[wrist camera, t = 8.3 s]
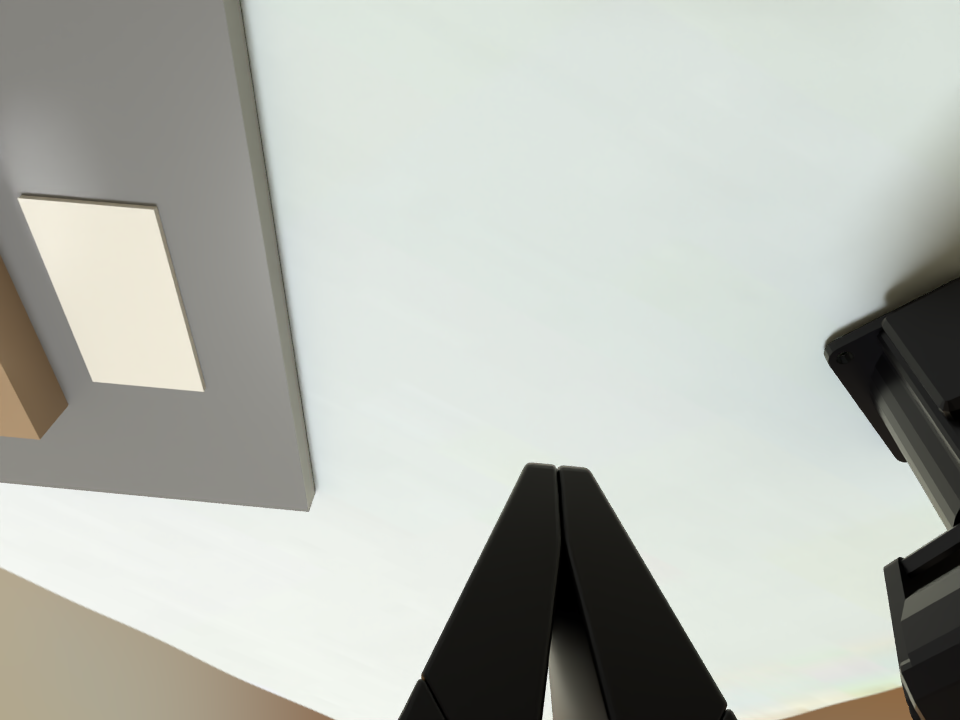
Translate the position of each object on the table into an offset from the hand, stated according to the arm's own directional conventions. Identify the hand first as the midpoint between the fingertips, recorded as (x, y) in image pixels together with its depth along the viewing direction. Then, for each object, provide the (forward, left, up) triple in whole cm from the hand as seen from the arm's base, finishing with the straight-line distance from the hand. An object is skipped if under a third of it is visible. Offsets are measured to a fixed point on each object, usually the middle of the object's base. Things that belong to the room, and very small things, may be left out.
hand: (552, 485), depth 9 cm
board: (+8, +16, -12) cm, 22 cm away
